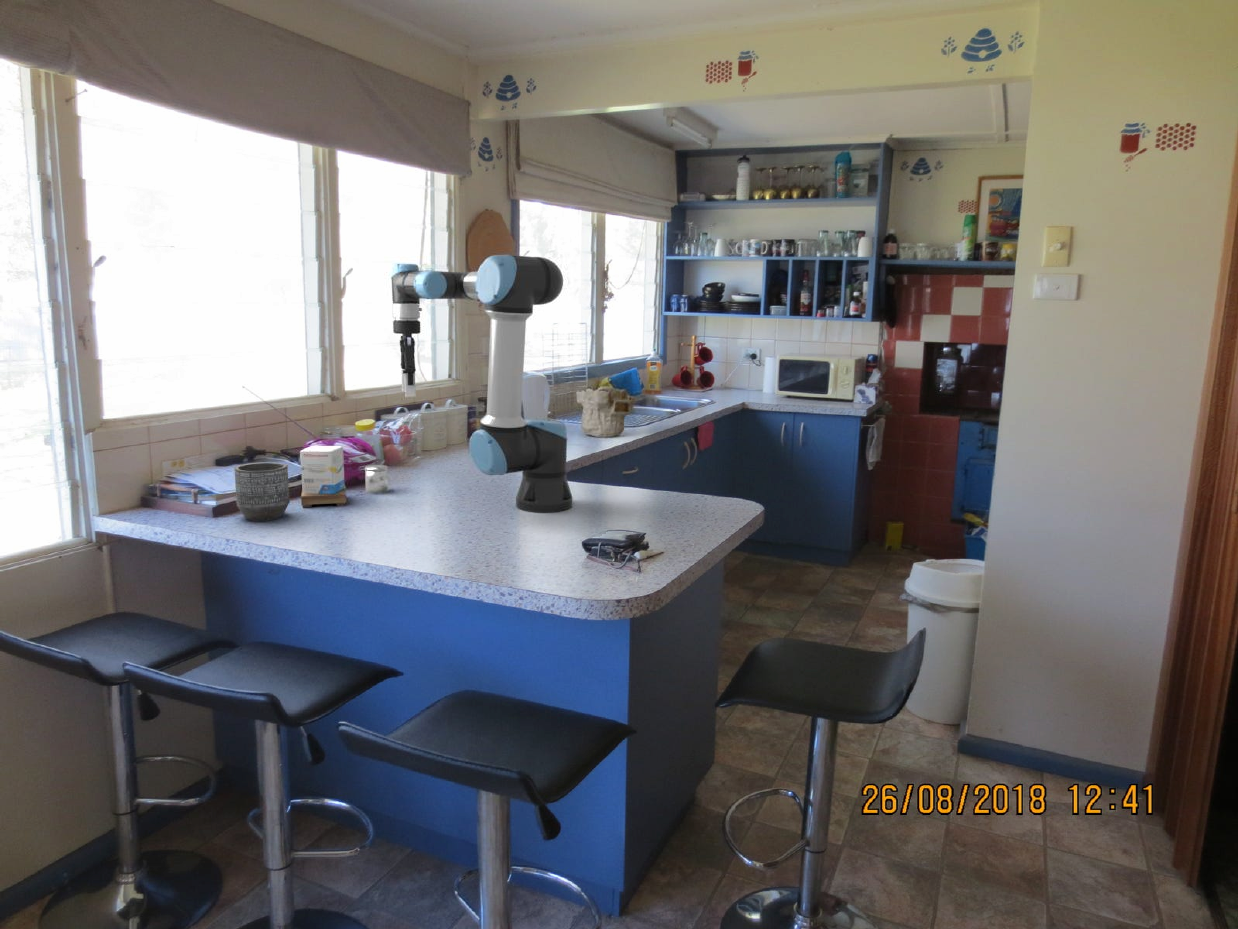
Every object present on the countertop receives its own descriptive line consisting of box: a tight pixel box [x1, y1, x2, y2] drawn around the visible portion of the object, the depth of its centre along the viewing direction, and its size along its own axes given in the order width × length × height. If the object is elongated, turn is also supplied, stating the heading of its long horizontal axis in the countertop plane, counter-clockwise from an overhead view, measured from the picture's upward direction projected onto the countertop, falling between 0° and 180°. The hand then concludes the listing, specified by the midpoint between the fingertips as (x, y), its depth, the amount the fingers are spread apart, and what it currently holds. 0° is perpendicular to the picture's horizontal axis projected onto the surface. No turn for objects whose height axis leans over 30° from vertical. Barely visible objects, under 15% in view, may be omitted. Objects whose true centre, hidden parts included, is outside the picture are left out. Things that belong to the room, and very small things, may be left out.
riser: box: [300, 487, 347, 508], centre depth 230 cm, size 11×11×3 cm
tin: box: [364, 464, 389, 495], centre depth 243 cm, size 6×6×7 cm
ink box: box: [299, 445, 346, 494], centre depth 229 cm, size 9×8×12 cm
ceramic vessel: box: [576, 385, 636, 439], centre depth 353 cm, size 23×24×25 cm
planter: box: [234, 461, 290, 522], centre depth 213 cm, size 12×12×13 cm
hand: (408, 394), depth 248 cm, fingers open, 13 cm apart
